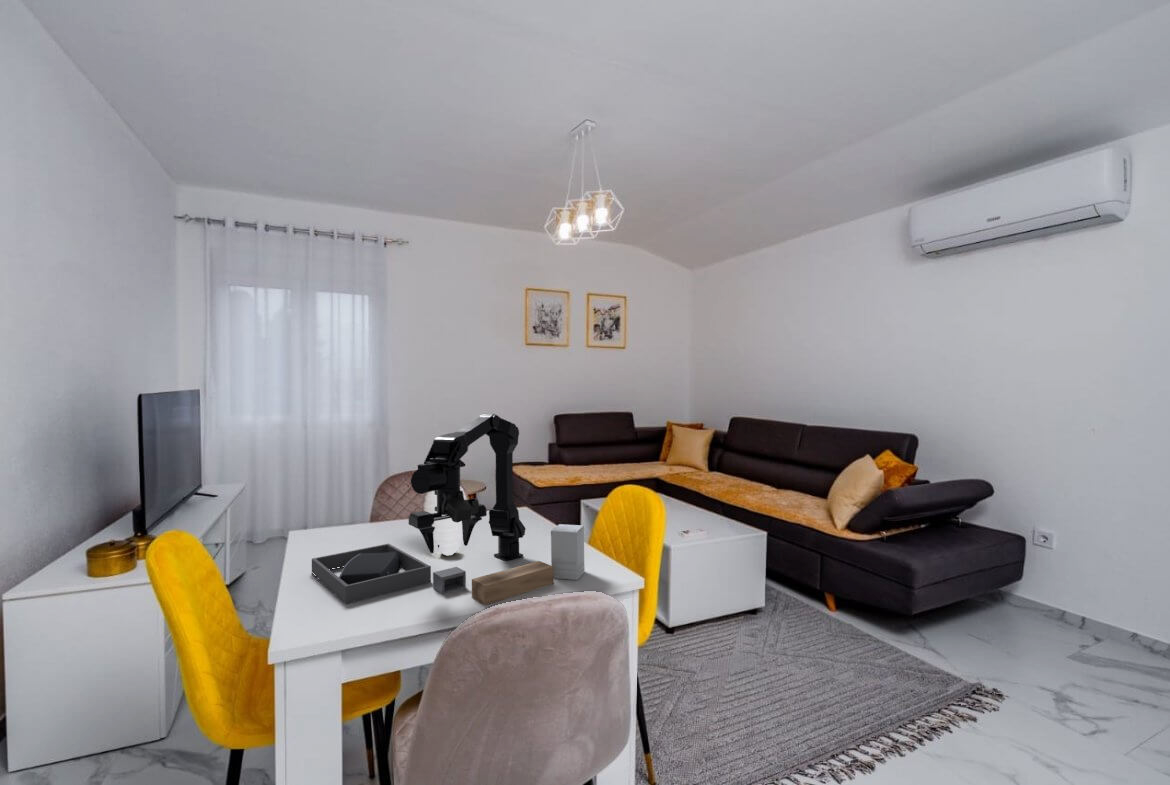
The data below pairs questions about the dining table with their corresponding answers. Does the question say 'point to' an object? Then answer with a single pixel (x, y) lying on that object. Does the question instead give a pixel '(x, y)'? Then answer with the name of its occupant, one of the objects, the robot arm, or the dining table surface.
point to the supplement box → (567, 551)
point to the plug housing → (449, 580)
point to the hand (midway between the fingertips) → (449, 549)
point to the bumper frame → (374, 587)
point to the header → (511, 582)
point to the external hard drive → (369, 567)
